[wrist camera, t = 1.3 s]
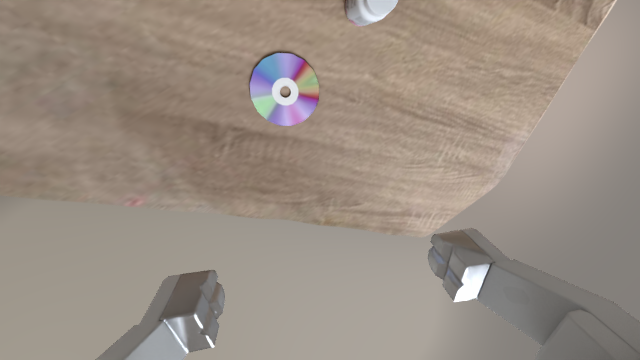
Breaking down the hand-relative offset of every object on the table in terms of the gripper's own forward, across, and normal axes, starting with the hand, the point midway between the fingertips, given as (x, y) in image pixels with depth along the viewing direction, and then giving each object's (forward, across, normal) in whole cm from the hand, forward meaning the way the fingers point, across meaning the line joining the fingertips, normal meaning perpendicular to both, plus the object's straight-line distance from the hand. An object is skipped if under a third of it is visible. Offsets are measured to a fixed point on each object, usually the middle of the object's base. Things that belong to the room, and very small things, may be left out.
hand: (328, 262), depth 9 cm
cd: (+34, +1, -2) cm, 34 cm away
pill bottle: (+34, -11, -12) cm, 38 cm away
